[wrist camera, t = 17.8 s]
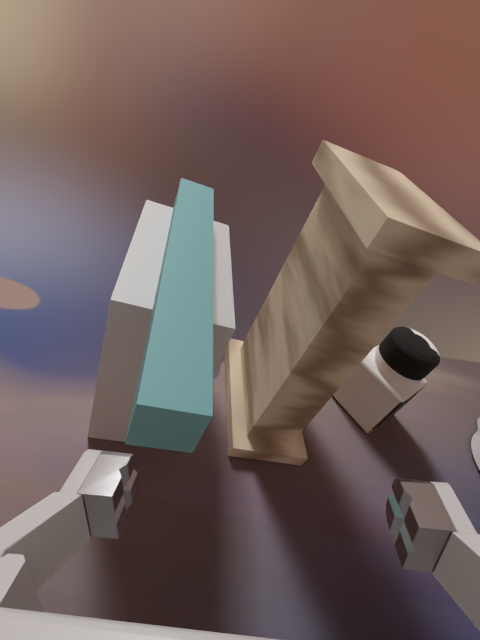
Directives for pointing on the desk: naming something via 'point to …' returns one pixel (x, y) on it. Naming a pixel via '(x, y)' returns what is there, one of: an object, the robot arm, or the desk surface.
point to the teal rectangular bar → (179, 333)
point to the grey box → (135, 313)
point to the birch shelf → (336, 299)
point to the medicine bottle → (388, 377)
